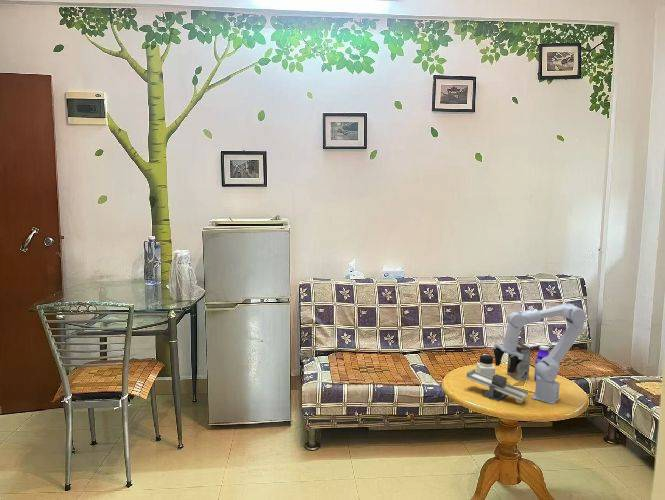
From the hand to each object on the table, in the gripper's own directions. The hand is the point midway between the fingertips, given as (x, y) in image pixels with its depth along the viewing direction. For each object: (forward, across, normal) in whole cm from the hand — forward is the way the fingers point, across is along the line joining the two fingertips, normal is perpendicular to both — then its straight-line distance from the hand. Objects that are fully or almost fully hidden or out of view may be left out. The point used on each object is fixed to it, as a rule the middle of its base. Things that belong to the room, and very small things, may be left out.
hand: (504, 369), depth 233 cm
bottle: (+9, -3, +35) cm, 36 cm away
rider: (+8, -2, +1) cm, 9 cm away
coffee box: (+11, -13, +30) cm, 34 cm away
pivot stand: (+14, -2, +2) cm, 14 cm away
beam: (+11, -3, +1) cm, 12 cm away
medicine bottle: (+14, -18, +12) cm, 26 cm away
